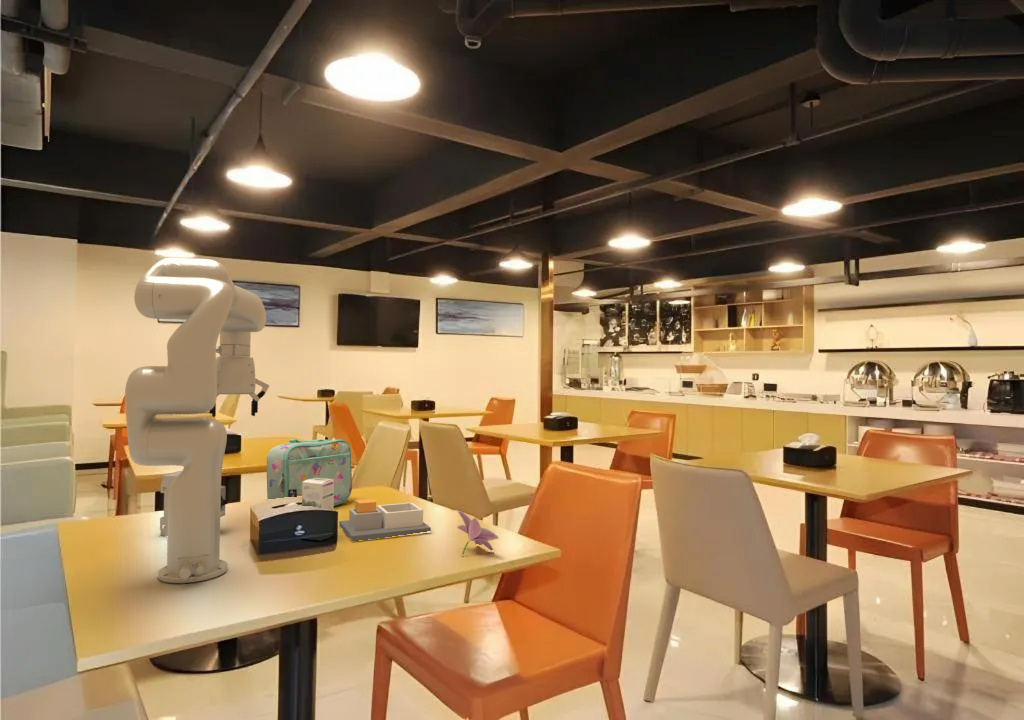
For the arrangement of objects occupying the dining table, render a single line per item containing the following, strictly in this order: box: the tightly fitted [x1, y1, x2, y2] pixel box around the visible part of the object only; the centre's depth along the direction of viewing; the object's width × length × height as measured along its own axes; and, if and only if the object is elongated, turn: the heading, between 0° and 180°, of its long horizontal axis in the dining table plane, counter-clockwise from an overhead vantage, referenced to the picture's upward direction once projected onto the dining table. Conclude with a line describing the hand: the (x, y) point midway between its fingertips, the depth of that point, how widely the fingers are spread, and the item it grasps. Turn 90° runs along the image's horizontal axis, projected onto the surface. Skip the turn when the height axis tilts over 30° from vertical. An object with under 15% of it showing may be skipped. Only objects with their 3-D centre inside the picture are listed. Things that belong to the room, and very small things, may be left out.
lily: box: [456, 509, 499, 555], centre depth 142 cm, size 12×12×10 cm
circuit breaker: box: [159, 470, 229, 537], centre depth 156 cm, size 8×14×15 cm, turn 89°
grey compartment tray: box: [338, 502, 432, 542], centre depth 161 cm, size 16×20×6 cm
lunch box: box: [266, 438, 353, 507], centre depth 184 cm, size 27×10×21 cm, turn 150°
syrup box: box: [302, 478, 335, 510], centre depth 153 cm, size 6×6×14 cm
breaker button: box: [354, 498, 377, 514], centre depth 159 cm, size 4×4×4 cm
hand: (233, 416), depth 165 cm, fingers open, 9 cm apart
